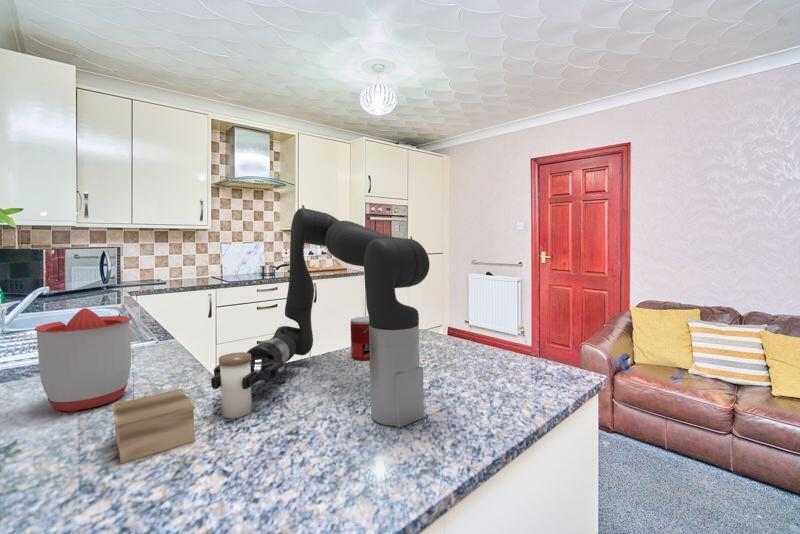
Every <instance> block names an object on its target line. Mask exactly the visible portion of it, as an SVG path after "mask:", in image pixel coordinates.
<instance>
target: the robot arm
mask: <svg viewBox="0 0 800 534" xmlns="http://www.w3.org/2000/svg"><path fill="white" fill-rule="evenodd" d="M305 244H307V245H314V246H321V247H326V249H327V251H328V253H329V254H330V255H332V256H333V257H334V258H335V259H338V260H340V261H341V262H343V263H346V264H348V265H352V266H358V267H363V275H364V286H365V302H366V303H365V304H366V310H367V314H368V315H367V316H368V317H369V333H370V360H369V365H370V366H369V372H370V373H369V375H370V376H369V378H370V379H369V380H370V407H371V409H370V414H371V419H372V420H373V421H374V422H376V423H377V424H380V425H384V426H392V427H397V428H398V429H399V428H403V427H405V426H407V425H409V424H412V423H415V422H417V421H420V420H421V419H424V417H425V412H424V411H425V409H424V407H425V406H424V404H425V402H424V399H425V398H424V396H425V395H424V367H423V366H420V327H419V326H420V319H419V318H420V316H419V311H418V310H417V308H416V307H413V306H410V305H406V304H403V303H402V302H400V301H399V300H398V299H397V296H396V295H397V294H396V289H401V288H402V289H403V288H410V287H414V286H416V285H418V284H419V285H420V283H422V282H423V281H424V280H425V279H426V278H427V275H429V270H430V265H431V264H430V258H429V255H428V253H427V250H426V249H425V248H424V246H423V245H422V244H421V243H420V242H418V241H417V240H415V239H412V238H404V237H395V236H391V235H386V234H384V233H382V232H380V231H377V230H374V229H372V228H370V227H366V226H364V225H362V224H359V223H356V222H353V221H349V220H339V219H338V218H336V217H335V216H333V215H331V214H329V213H328V212H327V213H326V212H324V211H319V210H313V209H309V208H303V207H301V208H299V209H297V210H296V211H295V212H294V215H293V218H292V220H291V226H290V244H289V245H290V246H289V280H288V288H287V296H286V302H285V307H284V316H285V317H286V318H288V319H289V320H292V321H294V322H295V323H297V325H298V327H293V326H288V325H282V326H280V327H278V328H276V330H275V332H274V335H273V336H272V337H270V338H269V339H266V340H264V341H262V342H260V343H258V344H256V345H255V346H253V347H252V348H249V350H247V351H246V353H250V354H251V361H250V367H251V373H249V374H248V375H246V376H245V377H244V378H243V379H242V388H243V389H248V388H249V387H251V388H252V387H253V386H254V385H255V384H260V383H261V382H262V381H264V383H270V382H272V381H274V380H276V379H277V378H279V377H280V376H283V375H284V374H285V364H286V363H288V362H289V361H290V360H291V359H292V358H293V357H294V356H295V355H296V356H305V355H308V354H309V352H311V350H312V348H313V345H314V334H313V328H312V327H313V326H312V310H313V309H312V308H313V303H314V297H315V286H314V282H313V280H312V276H311V274H310V271H309V268H308V265H307V264H306V260H305V254H304V253H305V251H304V250H305ZM210 380H211V382H210V385H211V386H210V387H212V389H215V390H217V389H219V388H221V376H220V365H219V364H218V365H217V366H216V367H215V368H214V369H213V376H212V377H211V378H210Z"/></svg>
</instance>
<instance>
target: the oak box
mask: <svg viewBox="0 0 800 534" xmlns="http://www.w3.org/2000/svg"><path fill="white" fill-rule="evenodd" d="M111 409H112V412H113V417H114V428H115V429H114V432H115V442H116V447H117V451H118V455H119V461H120V464H124V463H128V462H131V461H133V460H137V459H141V458H144V457H147V456H150V455H153V454H157V453H161V452H164V451H167V450H170V449H174V448H177V447H180V446H183V445H186V444H189V443H193V442H196V439H195V437H196V436H195V435H196V434H195V418H194V417H195V416H194V410H196V406H195V404H194V403H193V401H192V400H191V399H190V398H189V396H188V395H187V393H186V392H185V391H184V390H183V388H178V389H175V390H170V391H166V392H165V391H164V392H162V393H156V394H152V395H147V396H143V397H138V398H134V399H133V398H132V399H130V400H125V401H121V402H120V401H119V402H115V403H112V407H111Z"/></svg>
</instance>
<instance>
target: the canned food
mask: <svg viewBox="0 0 800 534" xmlns="http://www.w3.org/2000/svg"><path fill="white" fill-rule="evenodd" d="M350 346H351V347H350V349H351V350H350V351H351V352H350V353H351V357H352V358H353V359H354V360H357V361H370V333H369V316H356V317H354V318H351V319H350Z"/></svg>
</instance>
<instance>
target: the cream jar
mask: <svg viewBox="0 0 800 534" xmlns="http://www.w3.org/2000/svg"><path fill="white" fill-rule="evenodd" d="M250 361H251V354H250V353H247V352H245V351H244V352H242V351H241V352H232V353H226V354H223V355H221V356H219V357H218V365H220V376H221V386H220V396H221V398H220V399H221V416H222V417H223V418H226V419H237V418H241V417H244V416H247V415H249V414H250V413H252V411H253V402H252V401H253V400H252V397H253V396H252V386H251V387H249V388H248V389H243V388H242V379H243V378H244V377H245V376H246V375H248V374H249V373H251V367H250Z"/></svg>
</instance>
